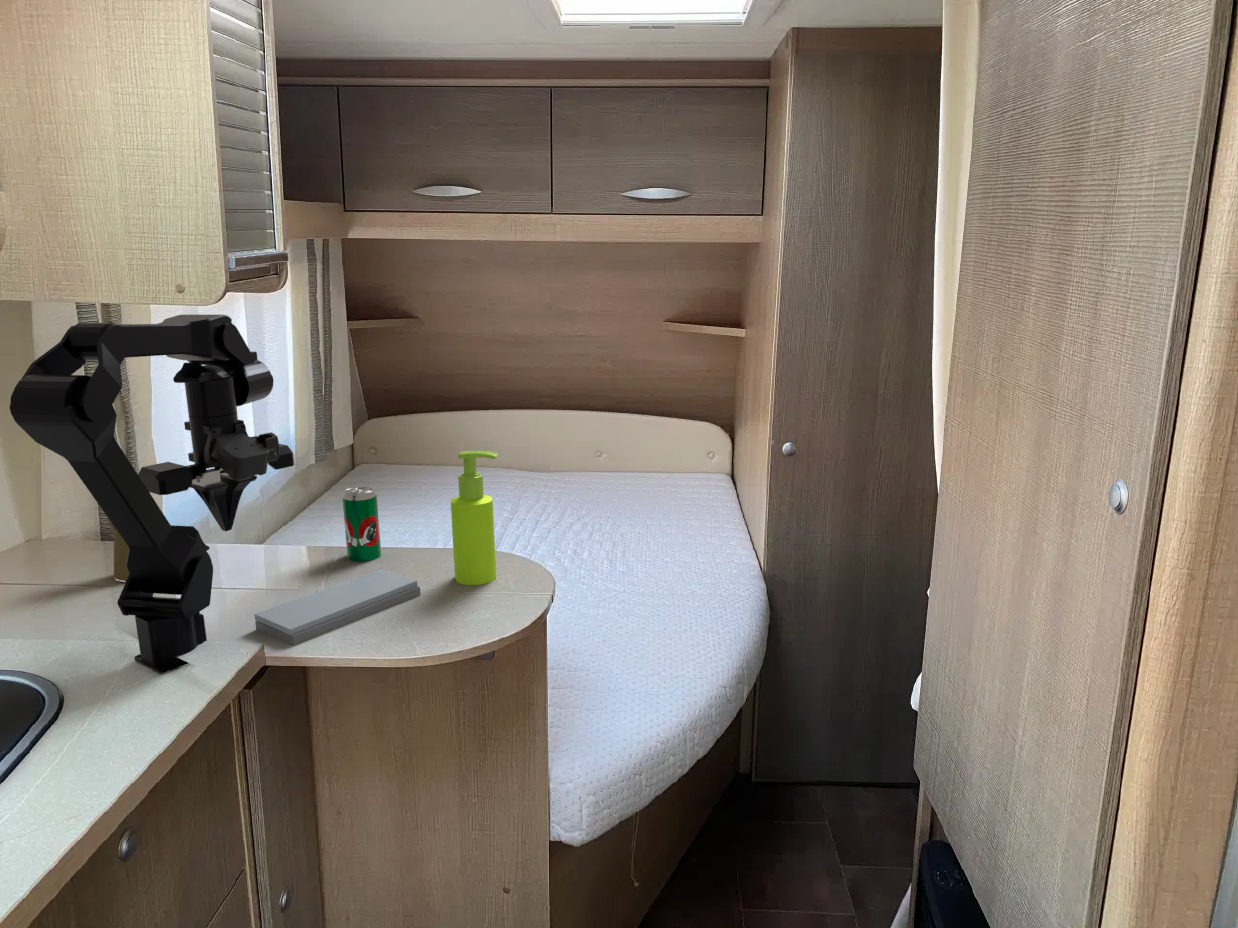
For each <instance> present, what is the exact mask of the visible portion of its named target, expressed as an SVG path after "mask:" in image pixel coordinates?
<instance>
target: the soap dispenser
mask: <svg viewBox="0 0 1238 928" xmlns="http://www.w3.org/2000/svg"><path fill="white" fill-rule="evenodd" d="M498 455H499V453H498V452H494V451H491V450H490V451H489V450H480V449H479V450H478V449H477V450H466V451H465V450H464V451H460V452H459V453H458V455H457V456H458V457H457V459H458V460H459V459H462V460H463V472H462V473H461V474H459V475H458V477H457V479H458V496H455V497H453V498H451V499H450V514H451V515H450V516H451V531H452V548H453V563H454V565H453V566H454V579H455V582H456V583H457V584H460V585H465V586H480V585H485V584H489V583H492V582H493V581H497V565H496V564H497V563H496V544H495V525H494V524H495V522H494V521H495V517H494V501H493V500H494V499H493V497H492V496H490V495H488V494H484V479H483V474H482V473H479V471H477V459H478V458H480V459H481V458H482V459H483V458H484V459H491V460H495V459H496V458H497V457H498Z"/></svg>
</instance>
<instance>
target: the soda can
mask: <svg viewBox="0 0 1238 928" xmlns="http://www.w3.org/2000/svg"><path fill="white" fill-rule="evenodd" d="M343 492H344V494H343V496H342V507H343V508H342V509H343V518H344V520H343V521H344V530H345V531H344V532H345V542H346V543H345V544H346V553H347V554H346V555H347V557H346V558H347V560H348V561H350V562H357V563H363V562H370V561H374V560H377V559H379V558H381V557H382V548H381V544H382V543H381V535H380V534H381V533H380V532H381V531H380V519H379V508H378V507H379V506H378V505H379V504H378V496H377V494H376V492H375V489H374V487H371V486H354V487H349V488H347V489H345V490H344V491H343Z"/></svg>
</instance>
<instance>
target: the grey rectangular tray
mask: <svg viewBox="0 0 1238 928" xmlns="http://www.w3.org/2000/svg"><path fill="white" fill-rule="evenodd" d="M418 596H421V586H418V585H417V587H414V588H411V589H409V590H406V591H404V592H401V593H399V594H396V595H393V596H391V597H388V598H386V599H383V600H381V601H378V602H376V603H373V604H370V605H368V606H365V607H363V608H360V609H358V610H355V611H353V612H350V613H347V614H345V615H342V616H340V617H337V618H335V619H332V620H329V621H327V622H324V623H322V624H319V625H317V626H314V627H312V628H309V629H306V630H304V631H301V632H299V633H296V634H294V635H289V634H286V633H284V632H282V631H279V630H277V629H275V628H272V627H270V626H268V625H265V624H263V623H261V622H259V621H256V620H255V621H254V623H255V630H256V631H258V632H260V633H263V634H265V635H267V636H270V637H272V638H275V639H278V640H280V641H281V642H282V641H283V642H285V643H287V644H290V645H292V646H296V645H299V644H302V643H304V642H307V641H309V640H311V639H315V638H317V637H319V636H321V635H323V634H326V633H329V632H332V631H334V630H336V629H339V628H341V627H344V626H346V625H349V624H351V623H353V622H356V621H358V620H361V619H364V618H366V617H369V616H372V615H373V614H374V615H375V614H376V613H378V612H381V611H383V610H387V609H389V608H391V607H393V606H396V605H398V604H401V603H403V602H406V601H409V600H411V599H413V598H416V597H418Z"/></svg>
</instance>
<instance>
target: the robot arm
mask: <svg viewBox="0 0 1238 928" xmlns="http://www.w3.org/2000/svg"><path fill="white" fill-rule="evenodd" d="M232 322H233V320H232V318H231V316H229V315H226V314H178V315H174V316H171V317H167V318H165V319H163V321H161V322H159V323H135V324H134V323H127V324H125V323H122V324H120V323H119V324H118V323H114V322H78V323H76V324H75V325H72V326H70V327H69V328H68V329H67V331H66V332H65V334H64V335H63V337H62V338H61V340H60V341H59V342H58V343H56V344H55V345H54V346H52V347H51V348H50V349H49V350H46V352H44V353H43V354H42V355H40V356H39V357H38V358H36V359H35V360H34V361H32V362H31V364H30V365H29V366H28V368H27V369H26V371H25V373H24V374H23V376H22V377H21V378H20V380H19V381H18V382H17V384H16V385H15V387H14V389H13V391H12V393H11V396H10V403H9V404H10V405H9V408H8V409H9V411H10V414H11V416H12V418H13V420H14V422H15V423H16V425H18V426H19V427H20V428H21V429H22V430H23V431H24V432H25V433H26V434H27V435H28V436H29V437H30V438H31V439H32V440H34V442H35V443H37V444H39V445H41V446H42V447H44V448H46V449H48V450H49V451H52V452H54V454H57V455H59V456H61V457H62V458H63V459H65V460H66V461H67V462H68V464H70V466H71V467H72V469H73V470H74V472H75V473H76V474H77V476H78V478H79V479H80V480H81V481H82V483H83V484H84V486H85V487H86V488H87V490H88V492H89V493H90V494H91V496H92V497H93V499H94V500H95V501H96V503H97V504H98V506H99V507H100V509H101V510H102V511H103V512H104V514H105V515H106V517H107V519H108V518H109V520H110V521H111V522H112V524H113V525H114V527H115V528H116V530H117V531H118V532H119V534H120V535H121V537H122V538H123V539H124V541H125V542H126V544H127V545H128V547H129V551H128V556H127V561H126V566H127V568H128V571H129V576H128V578H127V580H126V583H124V586H123V588H122V590H121V592H120V595H119V597H118V599H117V606H118V608H119V610H120V613H121V614H122V615H123V616H134V619H135V625H136V634H137V639H138V647H139V653H140V654H137V655H134V661H135V663H139V664H140V665H142V666H144V667H147V668H148V669H150V670H153V671H155V672H156V673H158V674H166V673H168V672H170V671H173V670H175V669H178V668H182V667H183V666H186V665H188V664H190V662H188V661H187V660H184V659H182V658H179V657H180V656H183V655H187V654H189V653H190V652H193V651H194V650H195V649H197V647H198V646H199V645H202V644H203V643H204V642H207V641H208V639H207V632H206V624H205V616H204V614H202V613H200V612H201V611H203V610H205V609H206V608H208V607H210V605H211V597H212V588H213V587H212V586H213V577H214V566H213V562H212V558H211V555H210V554H209V552H208V551H209V550H210V546H209V545H207V544H206V543H205V542H204V541H203V539H202V536H201V533H200V532H199V530H197V528H195V526H193V525H191V526H190V525H174V524H173V525H172V524H170V521H169V520H168V519H167V517H166V516H165V514H164V512H163V511H162V510H161V508H160V506H159V505H158V503H157V502H156V500H155V499H154V497H153V495H152V494H155V495H157V496H158V495H159V496H168V495H171V494H172V495H173V494H176V493H180V492H181V493H182V492H187V491H188V490H189V488H191V489H193V490H194V491H195V492H196V493H197V495H198V496H199V497H200V498H201V500H202V501H203V503H204V504H205V506H206V507H207V509H208V510H209V512H210V513H211V515H212V516H213V518H214V519H215V521H216V522H217V525H218V526H219V527H220V529H221V531H222V532H229V531H232V529H233V526H234V522H235V519H236V514H237V512H238V507H239V505H240V500H241V498H242V495H243V492H244V490H245V489H246V487H247V486H249V485H250V483H253V482H255V481H256V480H257V479H258V476H263V475H265V474H267V472H268V466H270V468H272V469H274V470H281V469H286V468H290V467H293V466H295V456H294V452H293V450H292V449H291V448H290V447H289V445H286V444H282V443H280V440H279V437H278V435H276V434H275V433H274V432H266V433H260V434H258V435H255V436H249V434H248V432H247V427H246V424H245V422H244V419H243V420H242V419H239V418H238V417H239V416H238V408H237V407H241V406H244V405H247V404H251V403H254V402H256V401H260V400H262V399H265V398H267V397H268V396H269V395H270V394H271V392H272V390H273V388H274V376H273V375H272V373H271V370H270V369H269V367H268V366H267V365H266V364H265V363H263V362H262V361H260V360H259V359H258V353H257V351H253V350H252V351H251V350H250V348H249V346H248V344H247V343H246V341H245V340H244V337H243V335H242V334H241V333H240V331H239V329H238V328H237V326H236V325H235V324H234V323H232ZM155 356H156V357H159V356H166V357H167V358H172V359H176V360H180V361H187V362H183V364H182V367H181V368H180V369H179V370H178V371H177V372H176V373H175V375H174V377H173V382H174V383H175V384H184V388H185V396H186V397H185V398H186V404H187V405H186V406H187V413H188V421H184V422H183V423H184V424H183V425H184V430H185V431H190V437H191V438H190V439H191V444H192V452H188V453H187V456H188V457H187V458H188V462H193V464H189V465H182V464H178V463H175V462H171V461H165V462H161V463H160V462H159V463H155V464H151V465H150V464H149V465H144V466H141V468H140V469H139V471H138V472H137V471H136V469H135V468H134V466H133V464H132V463H131V461H130V460H129V459H128V457H127V455H126V454H125V452H124V451H123V449H122V448H121V446H120V445H119V443H118V442H117V440H116V437H115V430H116V424H117V423H116V422H117V417H118V416H117V415H118V414H117V412H116V410H115V408H114V407H115V406H114V403H115V400H116V399H117V397H118V395H119V393H120V392H121V390H122V388H123V379H122V368H121V365H122V363H123V362H124V360H125V358H141V357H155ZM87 361H91V362H92V361H93V362H95V361H97V363H98V365H97V367H96V368H95V370H94V371H93V373H92V374H91V376H90V375H84V374H83V375H82V374H75V373H76V372H77V371H79V370H80V369H81V368H82V367H84V365H85V364H86V362H87ZM154 594H160V595H177V596H180V597H166V596H165V597H162V596H154Z"/></svg>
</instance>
